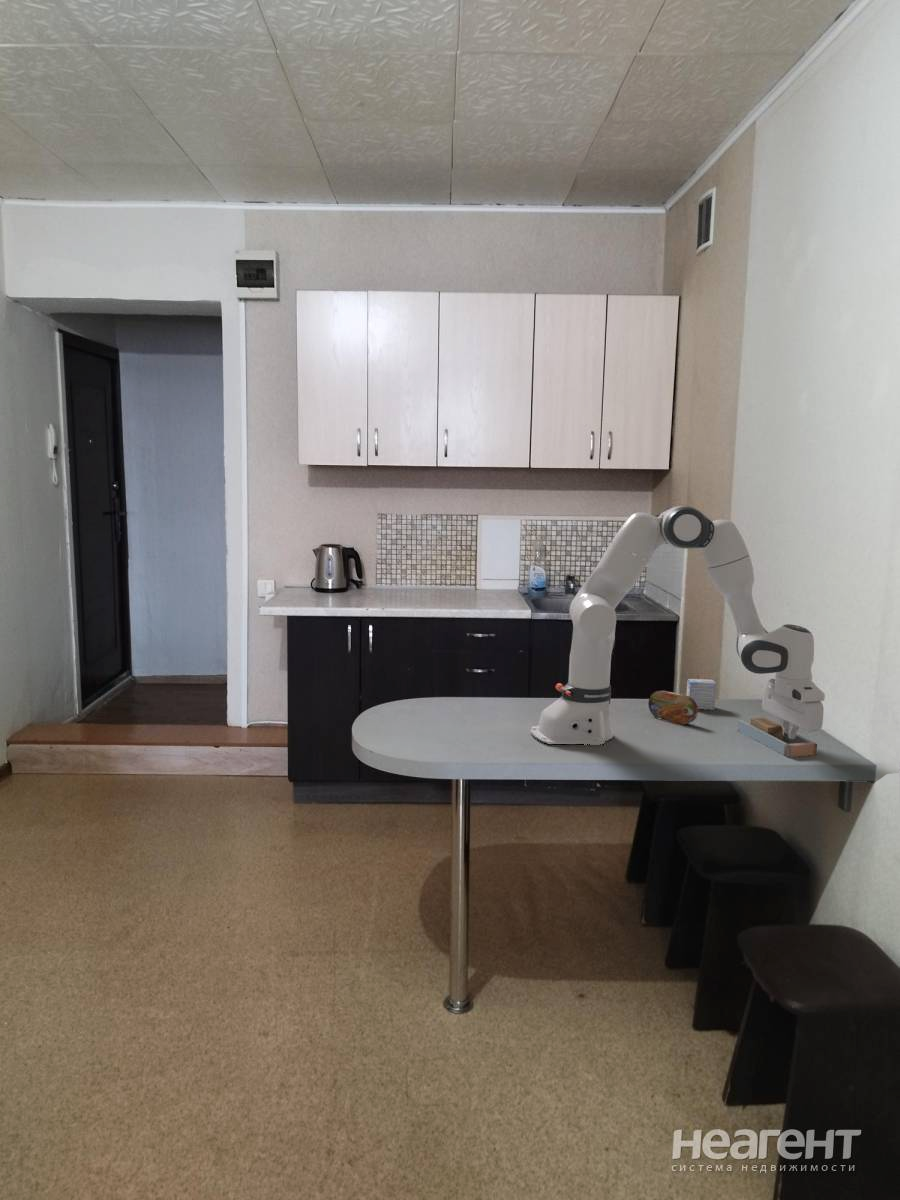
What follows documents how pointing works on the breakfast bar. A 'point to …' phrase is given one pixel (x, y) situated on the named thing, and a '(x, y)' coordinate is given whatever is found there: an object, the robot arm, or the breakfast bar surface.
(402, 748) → the breakfast bar surface
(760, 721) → the tan block
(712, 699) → the medicine box
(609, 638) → the robot arm
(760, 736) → the trap channel
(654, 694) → the tin
